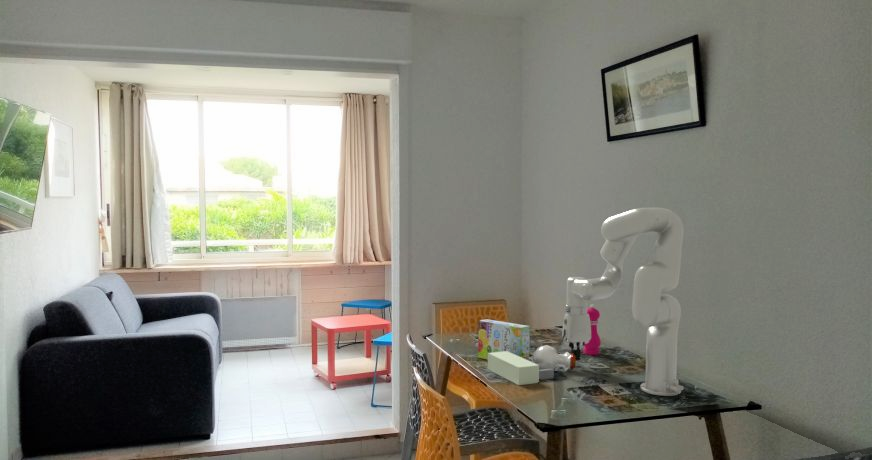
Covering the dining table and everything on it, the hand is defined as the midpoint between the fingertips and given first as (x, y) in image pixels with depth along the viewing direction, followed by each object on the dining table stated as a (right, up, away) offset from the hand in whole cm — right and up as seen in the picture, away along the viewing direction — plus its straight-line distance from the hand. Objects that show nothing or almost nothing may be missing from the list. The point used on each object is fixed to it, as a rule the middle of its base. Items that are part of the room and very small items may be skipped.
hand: (575, 359), depth 236 cm
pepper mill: (+12, -2, +24) cm, 26 cm away
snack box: (-26, -3, +10) cm, 28 cm away
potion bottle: (-9, -4, -4) cm, 10 cm away
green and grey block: (-21, -3, -9) cm, 23 cm away
